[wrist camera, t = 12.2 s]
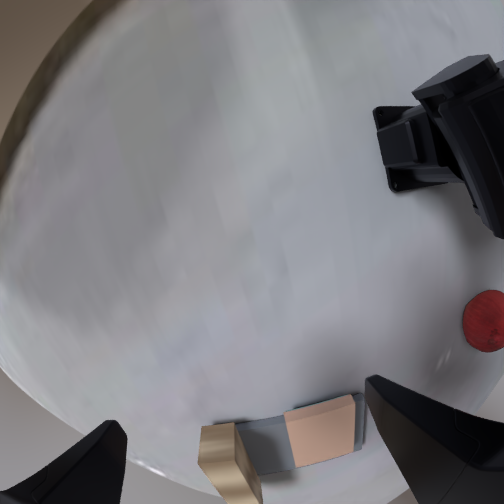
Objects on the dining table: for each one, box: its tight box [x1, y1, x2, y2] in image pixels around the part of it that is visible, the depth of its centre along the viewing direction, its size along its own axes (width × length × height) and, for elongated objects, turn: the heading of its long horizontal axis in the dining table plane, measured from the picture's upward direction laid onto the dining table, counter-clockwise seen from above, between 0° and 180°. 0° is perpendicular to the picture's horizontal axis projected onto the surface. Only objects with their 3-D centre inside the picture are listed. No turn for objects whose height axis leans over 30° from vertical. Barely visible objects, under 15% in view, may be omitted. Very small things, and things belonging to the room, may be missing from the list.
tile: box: [283, 394, 355, 468], centre depth 21 cm, size 6×2×8 cm
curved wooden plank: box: [198, 422, 263, 504], centre depth 20 cm, size 12×3×4 cm, turn 12°
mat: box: [235, 393, 365, 475], centre depth 23 cm, size 15×9×1 cm, turn 102°
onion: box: [463, 290, 504, 353], centre depth 18 cm, size 6×6×8 cm
